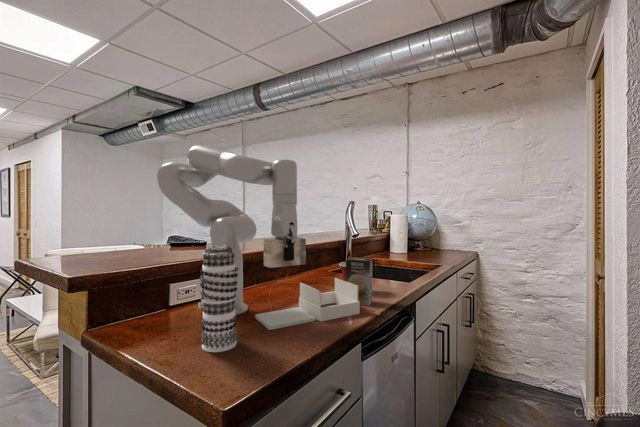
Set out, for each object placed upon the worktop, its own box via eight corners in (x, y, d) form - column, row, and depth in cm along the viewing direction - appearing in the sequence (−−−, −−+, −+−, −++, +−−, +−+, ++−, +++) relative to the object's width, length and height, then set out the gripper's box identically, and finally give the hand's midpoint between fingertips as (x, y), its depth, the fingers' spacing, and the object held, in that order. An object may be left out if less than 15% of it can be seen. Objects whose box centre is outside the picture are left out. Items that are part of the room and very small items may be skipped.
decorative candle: (240, 349, 79) (240, 247, 79) (200, 355, 76) (199, 249, 76) (236, 335, 88) (236, 243, 88) (200, 340, 85) (199, 245, 84)
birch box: (269, 267, 95) (269, 240, 95) (263, 265, 100) (263, 239, 100) (305, 264, 101) (305, 238, 101) (298, 261, 106) (298, 237, 106)
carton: (320, 321, 99) (320, 292, 99) (298, 308, 112) (298, 282, 112) (359, 313, 106) (359, 286, 106) (335, 302, 119) (335, 277, 119)
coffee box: (344, 303, 118) (344, 259, 117) (348, 298, 124) (348, 256, 123) (369, 305, 115) (369, 260, 114) (372, 301, 121) (373, 258, 120)
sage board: (269, 330, 92) (269, 326, 92) (255, 317, 102) (255, 314, 102) (315, 320, 100) (315, 317, 100) (297, 310, 110) (297, 307, 110)
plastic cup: (339, 287, 141) (339, 260, 141) (365, 288, 139) (365, 260, 139) (337, 294, 130) (337, 264, 130) (365, 295, 129) (365, 265, 128)
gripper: (263, 200, 106) (263, 256, 106) (284, 199, 91) (285, 264, 91) (284, 201, 109) (284, 254, 110) (308, 200, 95) (308, 262, 95)
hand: (284, 258), depth 101 cm, fingers closed on birch box, 5 cm apart
